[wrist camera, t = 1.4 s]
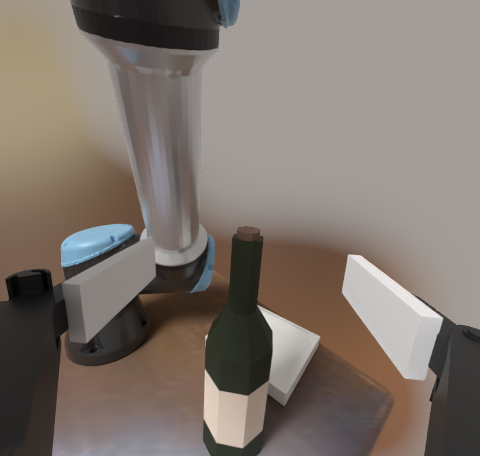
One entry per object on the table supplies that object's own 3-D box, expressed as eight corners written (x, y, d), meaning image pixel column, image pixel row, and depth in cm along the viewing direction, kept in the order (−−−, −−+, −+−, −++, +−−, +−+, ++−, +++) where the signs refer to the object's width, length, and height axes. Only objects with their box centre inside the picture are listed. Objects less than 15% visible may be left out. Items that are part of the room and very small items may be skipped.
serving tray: (205, 346, 45) (205, 336, 45) (250, 309, 58) (250, 301, 57) (284, 406, 35) (286, 394, 34) (318, 346, 47) (320, 336, 47)
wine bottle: (244, 490, 26) (270, 251, 17) (190, 444, 30) (190, 230, 21) (271, 422, 33) (299, 228, 24) (224, 392, 37) (235, 216, 28)
